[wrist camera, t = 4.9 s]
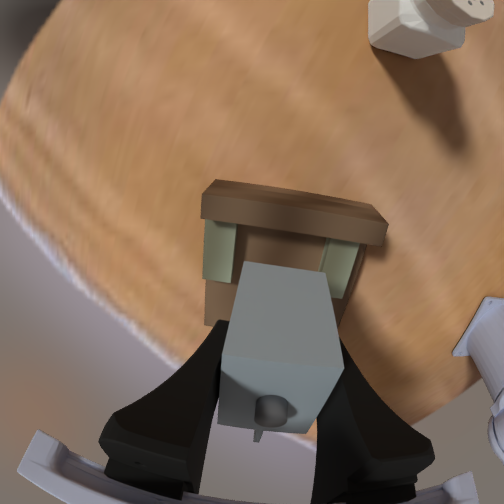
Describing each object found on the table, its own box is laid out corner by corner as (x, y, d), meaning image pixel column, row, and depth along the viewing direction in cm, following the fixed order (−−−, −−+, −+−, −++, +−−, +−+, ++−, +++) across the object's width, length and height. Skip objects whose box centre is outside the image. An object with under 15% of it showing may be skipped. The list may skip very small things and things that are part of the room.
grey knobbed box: (325, 272, 14) (347, 386, 8) (294, 368, 17) (293, 464, 11) (244, 260, 14) (217, 373, 8) (232, 360, 17) (213, 455, 11)
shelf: (371, 204, 19) (388, 224, 16) (330, 333, 25) (335, 363, 21) (215, 179, 19) (202, 194, 16) (207, 316, 25) (197, 345, 22)
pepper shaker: (418, 62, 14) (506, 44, 5) (365, 47, 14) (432, 5, 6) (417, 15, 12) (494, -23, 4) (365, 0, 12) (420, -62, 4)
